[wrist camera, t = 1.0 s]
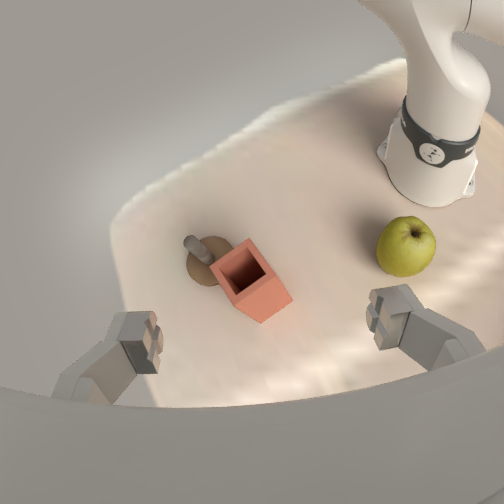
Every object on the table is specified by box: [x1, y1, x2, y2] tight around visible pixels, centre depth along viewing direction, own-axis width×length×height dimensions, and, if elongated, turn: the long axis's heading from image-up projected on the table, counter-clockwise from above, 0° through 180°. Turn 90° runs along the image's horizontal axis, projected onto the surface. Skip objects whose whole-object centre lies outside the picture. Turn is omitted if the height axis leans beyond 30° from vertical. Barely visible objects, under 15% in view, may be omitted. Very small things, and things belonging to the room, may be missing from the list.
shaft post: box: [183, 235, 233, 286], centre depth 45 cm, size 8×8×8 cm
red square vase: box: [209, 238, 293, 323], centre depth 39 cm, size 6×6×12 cm
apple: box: [376, 216, 436, 277], centre depth 36 cm, size 8×8×10 cm
